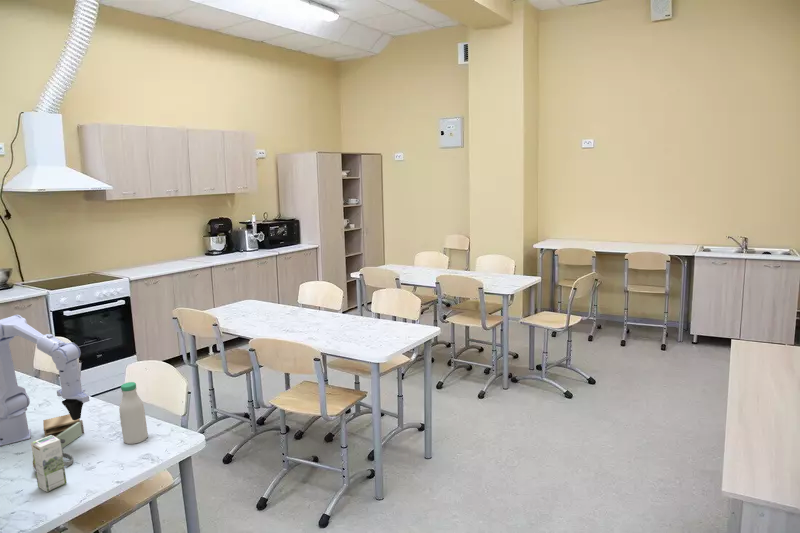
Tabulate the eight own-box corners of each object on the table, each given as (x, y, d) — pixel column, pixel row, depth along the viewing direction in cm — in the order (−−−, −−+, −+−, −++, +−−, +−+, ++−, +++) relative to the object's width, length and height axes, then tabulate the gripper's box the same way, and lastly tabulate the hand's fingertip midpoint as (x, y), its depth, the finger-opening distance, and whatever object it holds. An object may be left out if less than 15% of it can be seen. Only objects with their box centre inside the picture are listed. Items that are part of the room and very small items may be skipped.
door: (63, 449, 194) (61, 436, 193) (58, 448, 194) (56, 436, 193) (84, 434, 204) (82, 422, 203) (79, 434, 204) (77, 422, 203)
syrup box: (57, 478, 176) (50, 433, 174) (67, 483, 173) (60, 438, 170) (37, 487, 172) (29, 441, 169) (47, 493, 168) (39, 446, 166)
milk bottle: (152, 438, 199) (144, 383, 196) (129, 447, 194) (121, 390, 190) (142, 431, 205) (134, 378, 201) (119, 440, 199) (111, 385, 195)
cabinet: (45, 443, 199) (43, 429, 198) (45, 433, 207) (43, 420, 206) (84, 433, 205) (82, 420, 204) (82, 424, 213) (80, 411, 212)
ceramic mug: (33, 477, 177) (30, 454, 176) (36, 465, 185) (33, 442, 183) (73, 468, 182) (69, 445, 181) (74, 457, 189) (71, 435, 188)
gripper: (95, 379, 192) (101, 417, 194) (68, 373, 199) (74, 410, 201) (75, 387, 186) (81, 426, 188) (48, 380, 192) (54, 418, 195)
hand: (76, 418), depth 194 cm, fingers closed
